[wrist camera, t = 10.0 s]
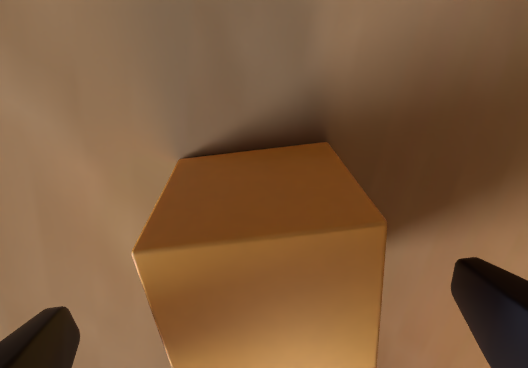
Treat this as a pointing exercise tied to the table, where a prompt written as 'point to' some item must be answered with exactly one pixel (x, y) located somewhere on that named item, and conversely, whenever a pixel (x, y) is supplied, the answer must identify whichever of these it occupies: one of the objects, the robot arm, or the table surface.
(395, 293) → the table surface
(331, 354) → the block
